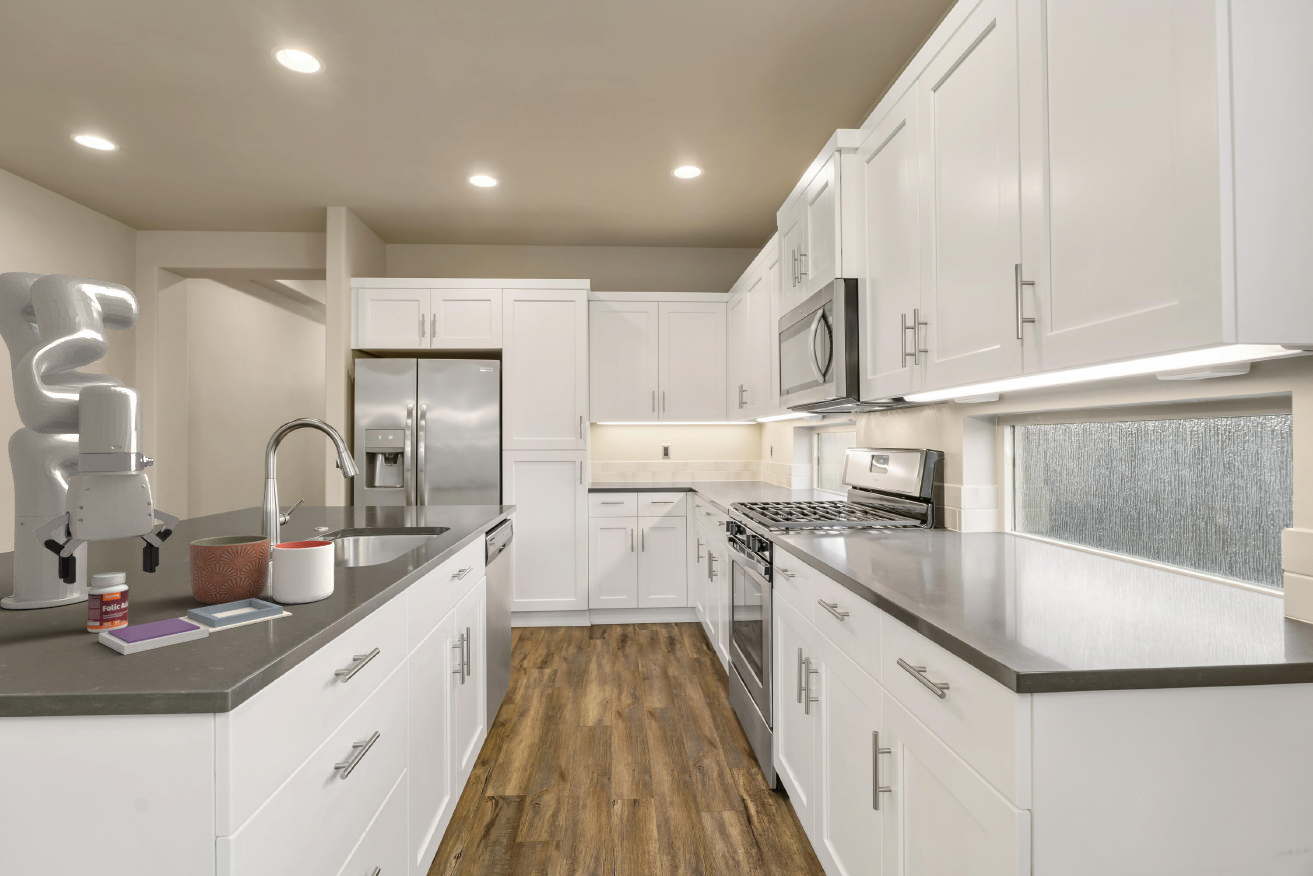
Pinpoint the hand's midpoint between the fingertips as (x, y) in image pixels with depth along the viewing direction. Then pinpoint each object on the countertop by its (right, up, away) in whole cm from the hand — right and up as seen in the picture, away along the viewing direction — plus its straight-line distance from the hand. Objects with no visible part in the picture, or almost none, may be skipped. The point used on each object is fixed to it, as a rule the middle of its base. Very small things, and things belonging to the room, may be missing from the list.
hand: (110, 577), depth 98 cm
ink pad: (+10, -8, -5) cm, 14 cm away
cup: (+18, -9, +20) cm, 29 cm away
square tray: (+14, -8, +7) cm, 18 cm away
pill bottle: (-1, -8, 0) cm, 8 cm away
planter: (+6, -8, +19) cm, 22 cm away
